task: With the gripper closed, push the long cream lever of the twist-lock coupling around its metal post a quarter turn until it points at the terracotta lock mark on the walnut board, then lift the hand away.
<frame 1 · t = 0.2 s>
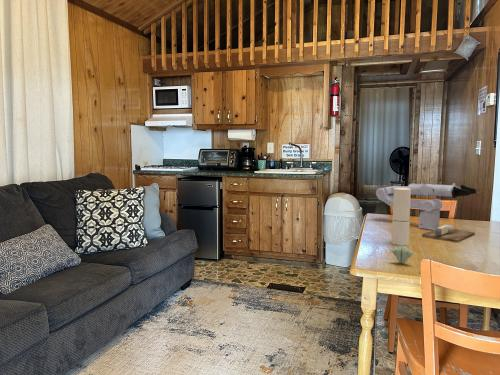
hand: (472, 192, 187), 21 cm above the table, tool horizontal, fingers open, 7 cm apart
coupling lever: (443, 229, 185), point 3 cm above the table, hinge at 0.0°
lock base: (448, 235, 188), on the table
green fan shape: (402, 264, 144), on the table
cream tall block: (400, 243, 174), on the table
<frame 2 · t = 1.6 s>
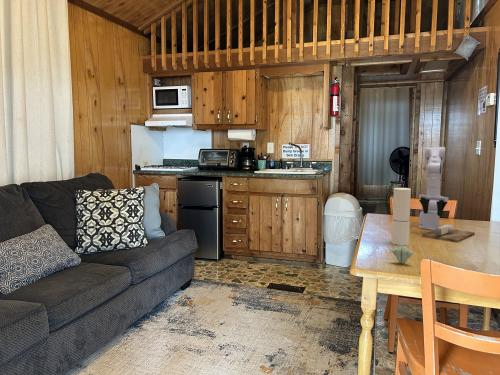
hand: (432, 214, 188), 10 cm above the table, tool pointing down, fingers open, 7 cm apart
nothing on the table moved.
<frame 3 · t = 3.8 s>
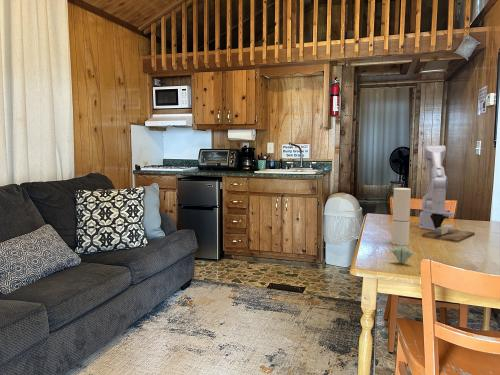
hand: (437, 229, 186), 3 cm above the table, tool pointing down, fingers closed, pressing on coupling lever
coupling lever: (443, 229, 185), point 3 cm above the table, hinge at 0.0°, touching gripper
everything else where it was.
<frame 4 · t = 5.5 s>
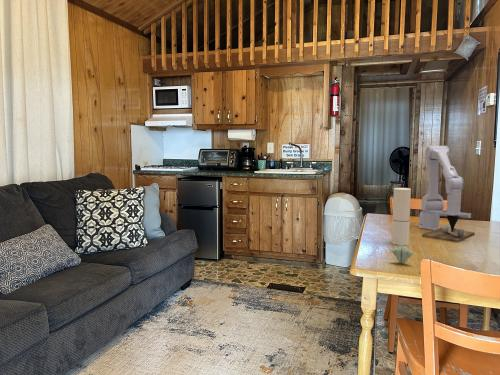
hand: (452, 231, 181), 3 cm above the table, tool pointing down, fingers closed
coupling lever: (453, 230, 184), point 3 cm above the table, hinge at 50.7°, touching gripper
everything else where it was.
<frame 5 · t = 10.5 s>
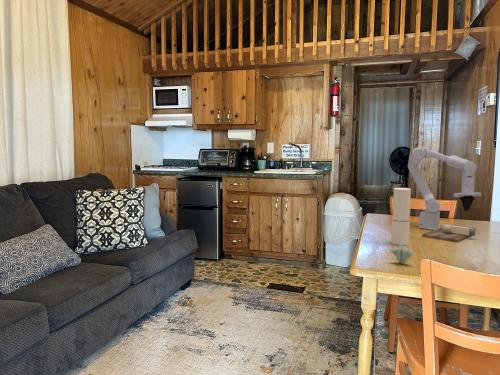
hand: (466, 210, 198), 10 cm above the table, tool pointing down, fingers closed
coupling lever: (458, 230, 185), point 3 cm above the table, hinge at 89.4°
everything else where it was.
at the end: coupling lever at +89° (first picture: +0°); the gripper is holding nothing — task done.
